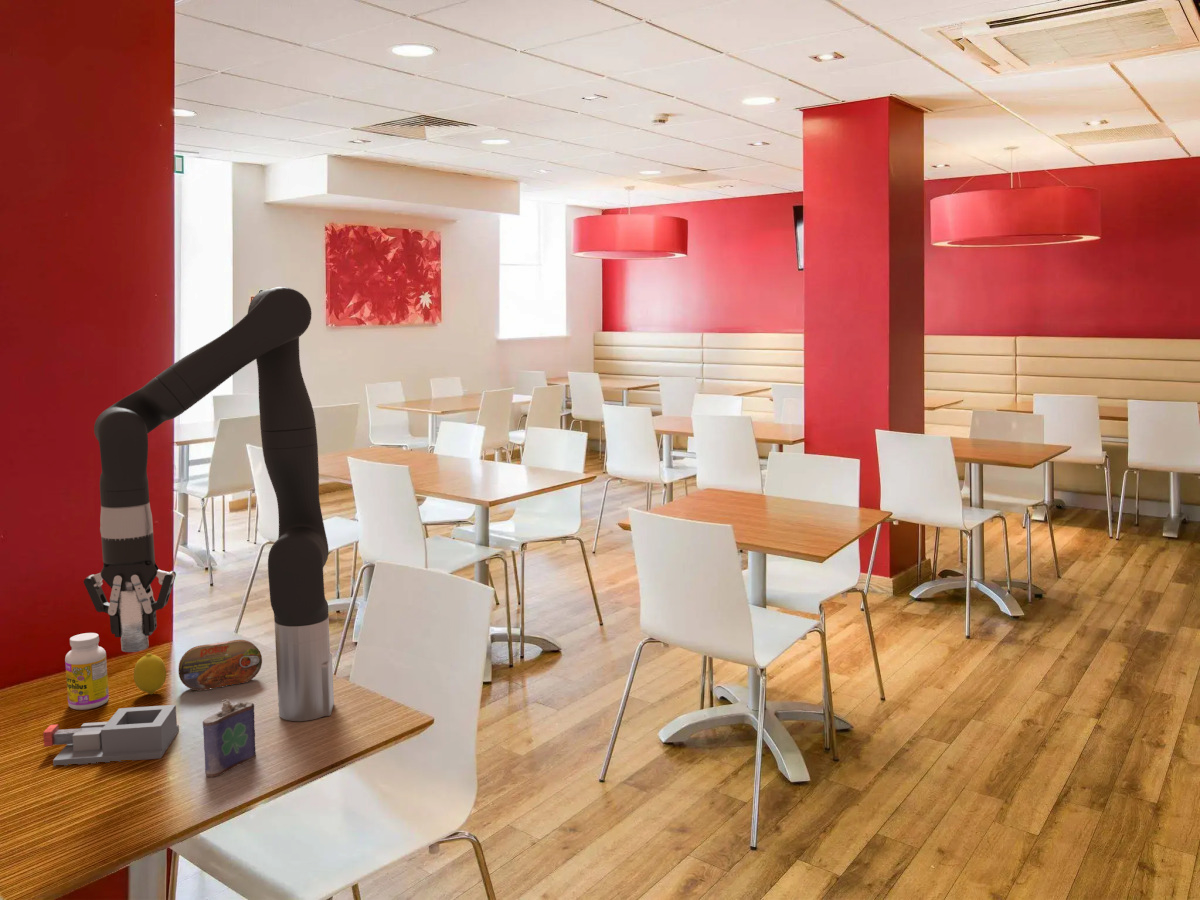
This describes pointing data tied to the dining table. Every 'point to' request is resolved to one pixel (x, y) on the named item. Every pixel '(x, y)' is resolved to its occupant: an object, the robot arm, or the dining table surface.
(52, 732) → the lock pin
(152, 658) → the lemon
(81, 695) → the supplement bottle
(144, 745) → the mount
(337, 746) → the dining table surface
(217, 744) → the flask
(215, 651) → the tin
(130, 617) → the salt shaker
